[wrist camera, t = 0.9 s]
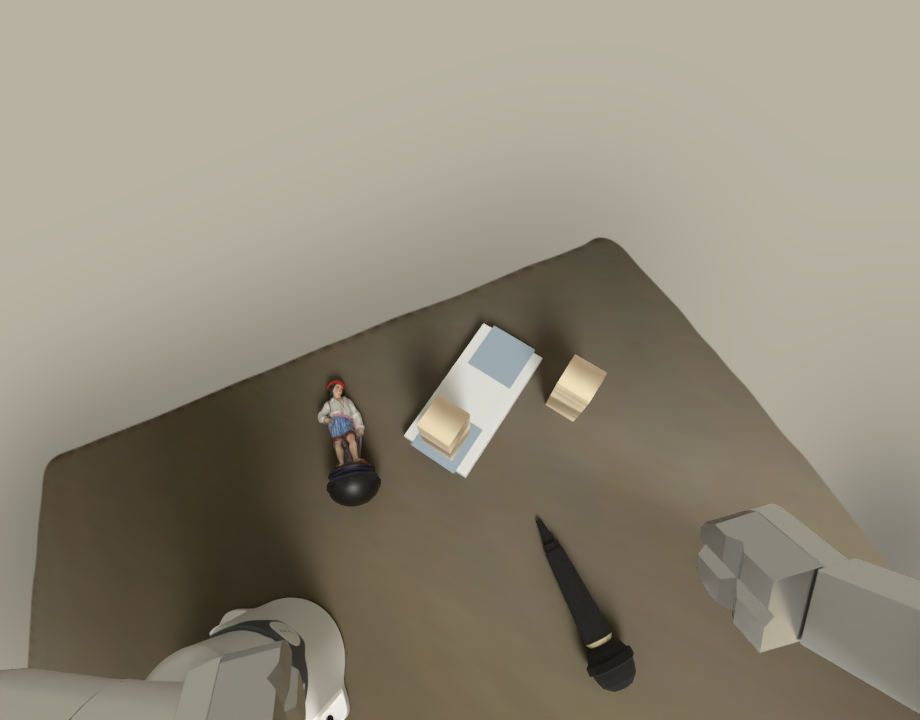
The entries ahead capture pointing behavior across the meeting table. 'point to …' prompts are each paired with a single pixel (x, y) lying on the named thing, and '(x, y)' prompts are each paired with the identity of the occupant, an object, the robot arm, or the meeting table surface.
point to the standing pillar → (444, 426)
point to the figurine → (347, 450)
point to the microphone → (590, 622)
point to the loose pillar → (575, 388)
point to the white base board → (481, 392)
